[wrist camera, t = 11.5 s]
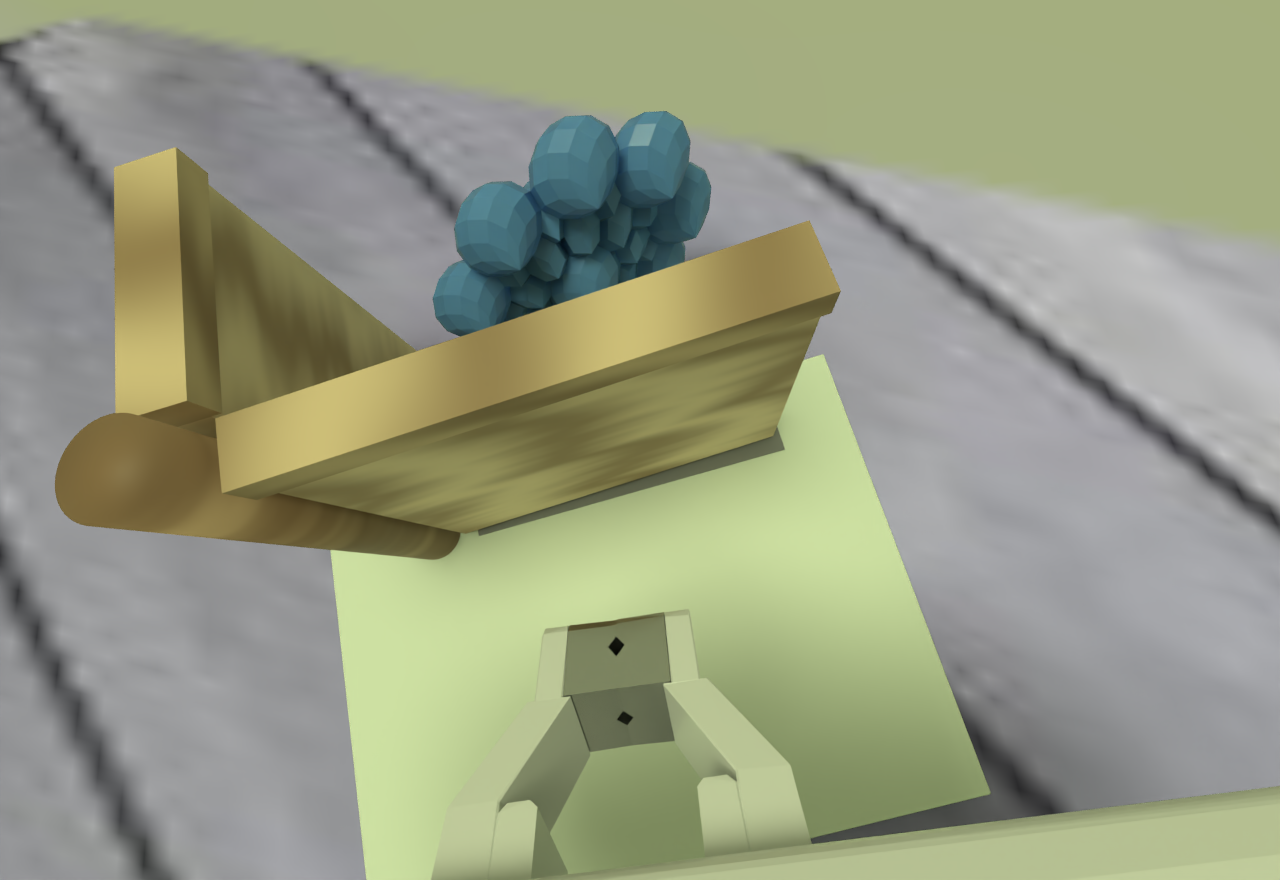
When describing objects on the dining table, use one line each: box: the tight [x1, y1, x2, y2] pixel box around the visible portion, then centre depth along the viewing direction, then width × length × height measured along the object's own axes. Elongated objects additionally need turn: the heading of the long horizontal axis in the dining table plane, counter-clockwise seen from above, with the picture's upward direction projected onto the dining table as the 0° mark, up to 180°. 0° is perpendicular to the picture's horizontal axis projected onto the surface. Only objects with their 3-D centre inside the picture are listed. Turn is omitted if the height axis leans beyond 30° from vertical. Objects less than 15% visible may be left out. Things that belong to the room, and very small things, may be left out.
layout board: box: [331, 355, 991, 880], centre depth 24 cm, size 18×24×1 cm
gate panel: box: [215, 221, 841, 534], centre depth 19 cm, size 14×2×13 cm, turn 106°
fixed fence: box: [55, 147, 460, 560], centre depth 20 cm, size 10×2×15 cm, turn 15°
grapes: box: [433, 111, 711, 337], centre depth 22 cm, size 12×7×12 cm, turn 118°
